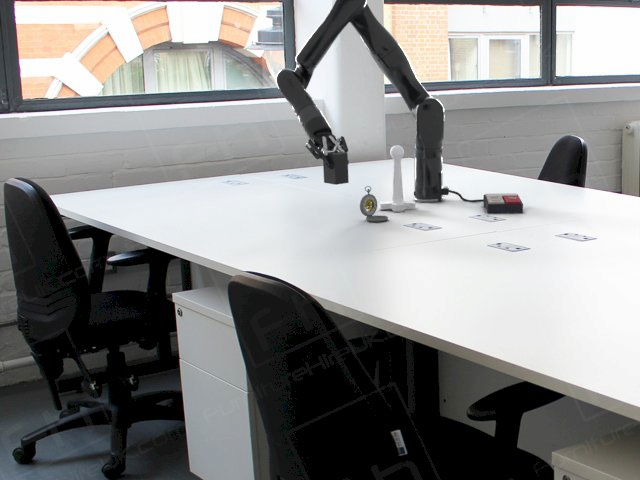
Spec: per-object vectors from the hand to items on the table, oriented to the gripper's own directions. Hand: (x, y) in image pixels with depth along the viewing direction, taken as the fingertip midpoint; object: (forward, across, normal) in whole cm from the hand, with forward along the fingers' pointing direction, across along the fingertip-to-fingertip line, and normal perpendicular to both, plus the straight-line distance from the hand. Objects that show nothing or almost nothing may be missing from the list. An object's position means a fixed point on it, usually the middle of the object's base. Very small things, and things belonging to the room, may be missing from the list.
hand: (339, 166), depth 321 cm
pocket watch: (+21, +2, +1) cm, 21 cm away
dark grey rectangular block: (+2, 0, +5) cm, 6 cm away
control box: (+31, +43, -9) cm, 53 cm away
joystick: (+14, +19, +7) cm, 25 cm away
